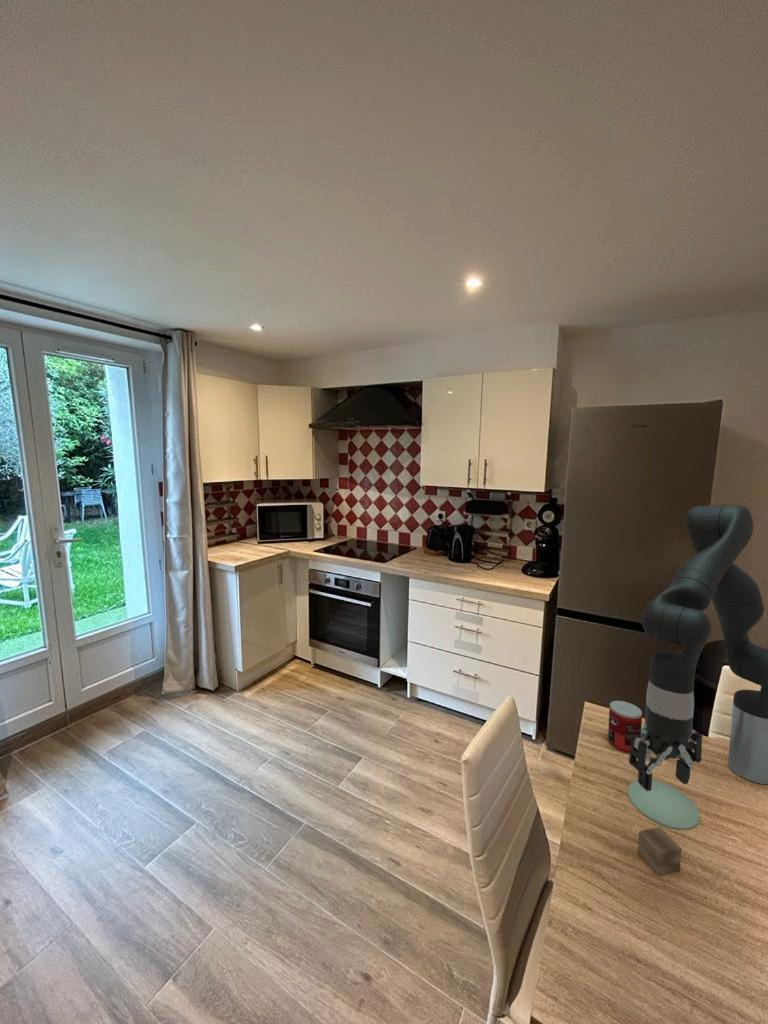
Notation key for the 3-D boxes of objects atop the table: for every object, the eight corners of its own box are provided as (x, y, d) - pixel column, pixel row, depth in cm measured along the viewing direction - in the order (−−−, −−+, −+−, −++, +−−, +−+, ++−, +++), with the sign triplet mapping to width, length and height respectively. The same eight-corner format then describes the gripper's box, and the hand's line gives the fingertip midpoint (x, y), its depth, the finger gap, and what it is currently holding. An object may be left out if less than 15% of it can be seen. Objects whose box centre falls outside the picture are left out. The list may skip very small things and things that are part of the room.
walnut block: (658, 848, 87) (659, 826, 86) (679, 871, 82) (681, 848, 81) (637, 853, 86) (639, 831, 85) (658, 876, 81) (659, 853, 80)
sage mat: (662, 777, 106) (662, 775, 106) (715, 823, 92) (716, 820, 92) (614, 786, 103) (614, 784, 103) (662, 834, 90) (662, 832, 90)
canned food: (610, 732, 124) (612, 697, 123) (641, 743, 119) (644, 707, 118) (604, 745, 118) (606, 709, 117) (637, 757, 113) (639, 719, 112)
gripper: (682, 692, 85) (677, 765, 87) (622, 700, 82) (617, 776, 84) (718, 713, 78) (711, 793, 80) (653, 722, 75) (648, 805, 77)
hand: (663, 784), depth 82 cm, fingers open, 8 cm apart
